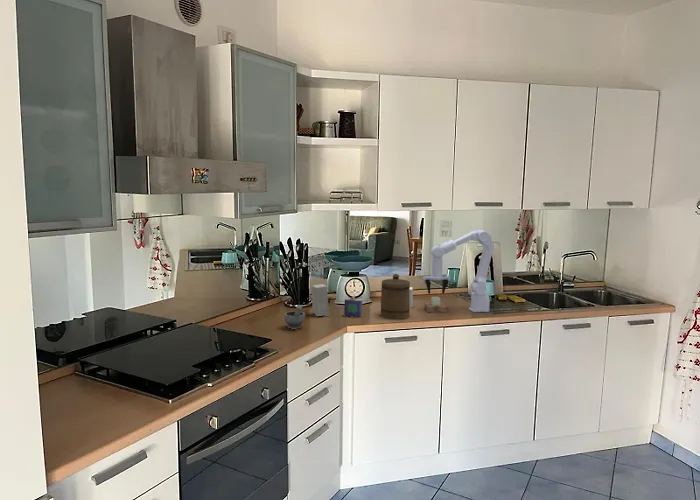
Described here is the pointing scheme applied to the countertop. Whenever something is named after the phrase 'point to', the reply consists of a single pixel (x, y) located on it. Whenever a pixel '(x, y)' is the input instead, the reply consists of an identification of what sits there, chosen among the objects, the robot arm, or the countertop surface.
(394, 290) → the wooden container
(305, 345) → the countertop surface
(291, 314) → the mortar and pestle
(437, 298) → the cube
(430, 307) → the base block
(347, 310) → the flask
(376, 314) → the countertop surface
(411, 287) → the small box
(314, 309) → the skincare box
